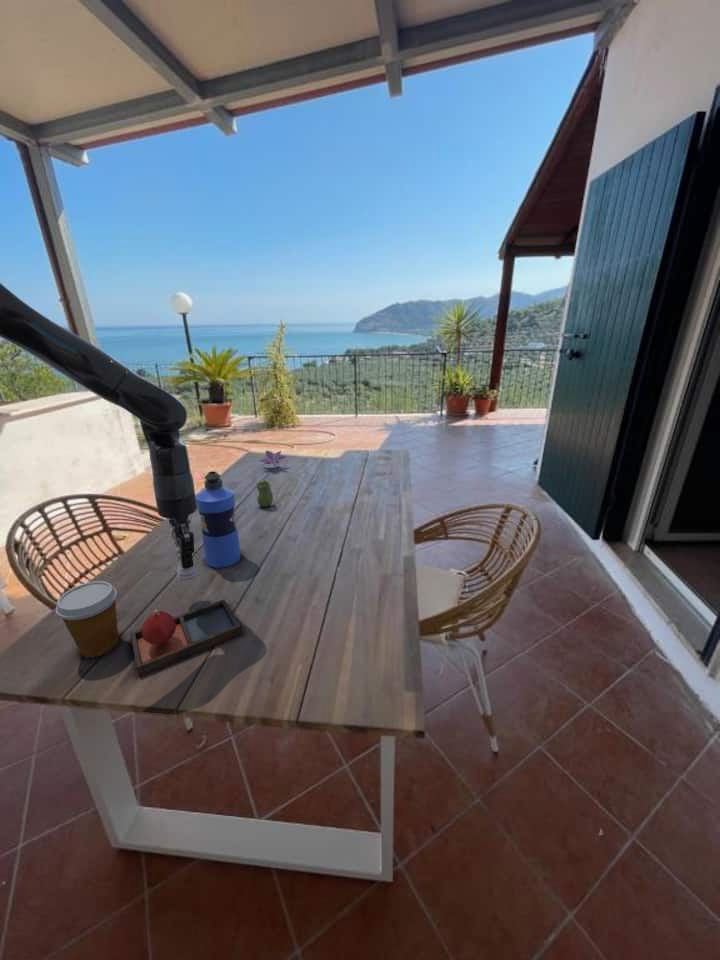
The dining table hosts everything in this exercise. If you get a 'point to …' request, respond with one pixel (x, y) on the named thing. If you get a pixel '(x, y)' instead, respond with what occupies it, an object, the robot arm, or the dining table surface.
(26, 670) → the dining table surface
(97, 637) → the disposable coffee cup
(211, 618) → the tray
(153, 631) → the pomegranate
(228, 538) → the water bottle
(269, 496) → the pear
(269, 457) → the lily
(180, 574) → the rook chess piece
